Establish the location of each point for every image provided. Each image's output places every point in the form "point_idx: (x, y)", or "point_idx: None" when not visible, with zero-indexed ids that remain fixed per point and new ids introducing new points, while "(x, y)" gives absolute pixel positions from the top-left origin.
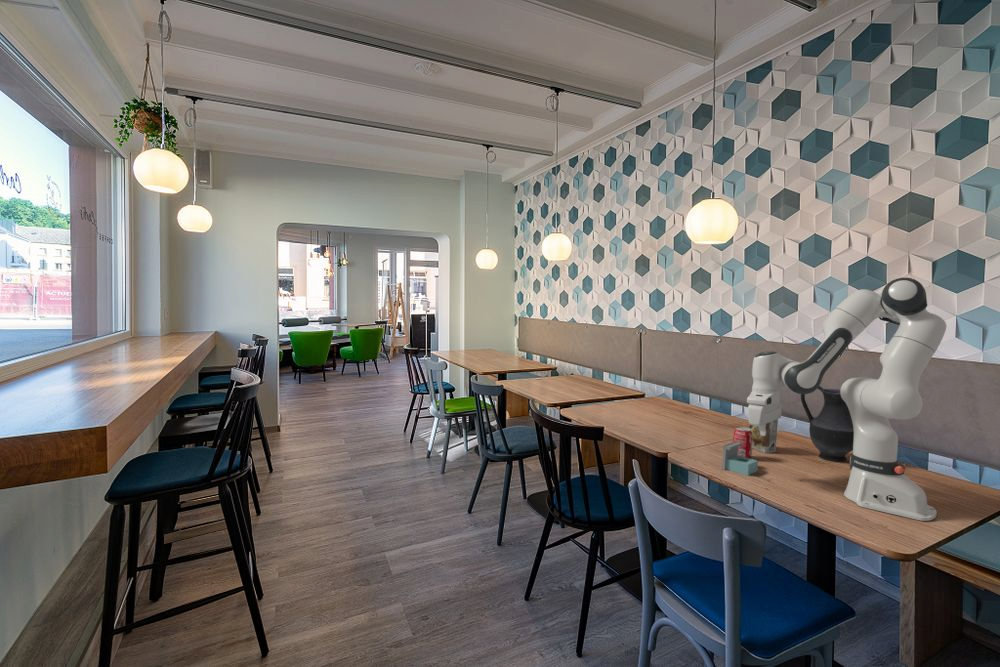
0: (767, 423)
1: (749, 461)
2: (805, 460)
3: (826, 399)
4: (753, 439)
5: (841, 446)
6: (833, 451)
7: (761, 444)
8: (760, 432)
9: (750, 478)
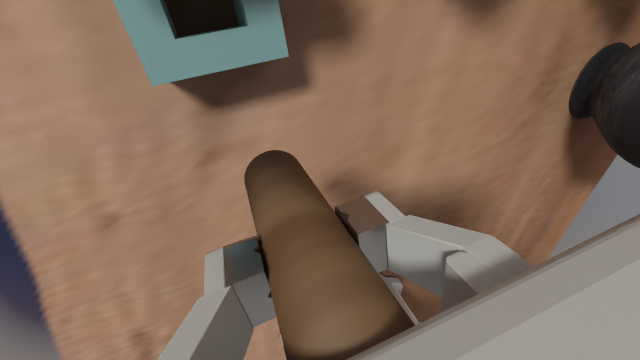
0: None
1: (222, 40)
2: (543, 54)
3: None
4: None
5: (617, 145)
6: (599, 117)
7: (252, 164)
8: (207, 274)
9: (138, 110)
